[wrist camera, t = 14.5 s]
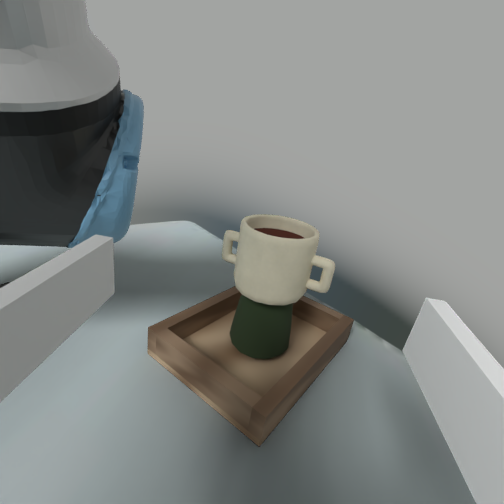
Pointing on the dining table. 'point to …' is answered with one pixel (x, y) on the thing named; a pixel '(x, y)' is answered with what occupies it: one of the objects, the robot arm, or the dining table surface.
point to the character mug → (271, 279)
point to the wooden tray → (247, 360)
